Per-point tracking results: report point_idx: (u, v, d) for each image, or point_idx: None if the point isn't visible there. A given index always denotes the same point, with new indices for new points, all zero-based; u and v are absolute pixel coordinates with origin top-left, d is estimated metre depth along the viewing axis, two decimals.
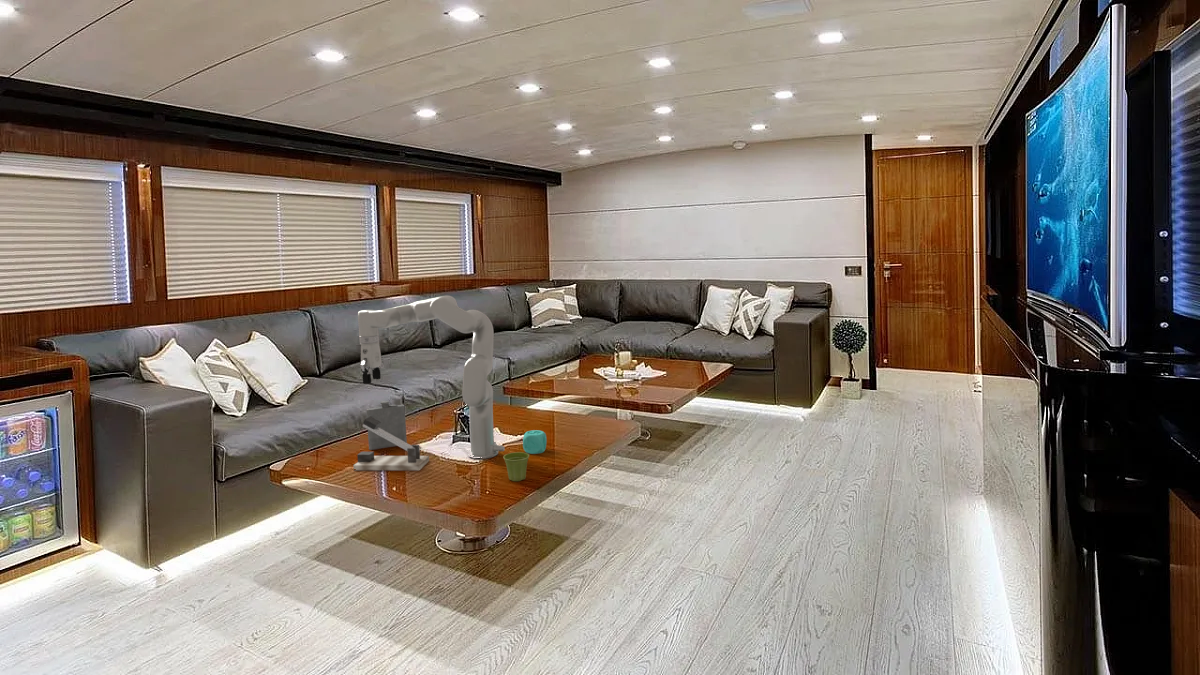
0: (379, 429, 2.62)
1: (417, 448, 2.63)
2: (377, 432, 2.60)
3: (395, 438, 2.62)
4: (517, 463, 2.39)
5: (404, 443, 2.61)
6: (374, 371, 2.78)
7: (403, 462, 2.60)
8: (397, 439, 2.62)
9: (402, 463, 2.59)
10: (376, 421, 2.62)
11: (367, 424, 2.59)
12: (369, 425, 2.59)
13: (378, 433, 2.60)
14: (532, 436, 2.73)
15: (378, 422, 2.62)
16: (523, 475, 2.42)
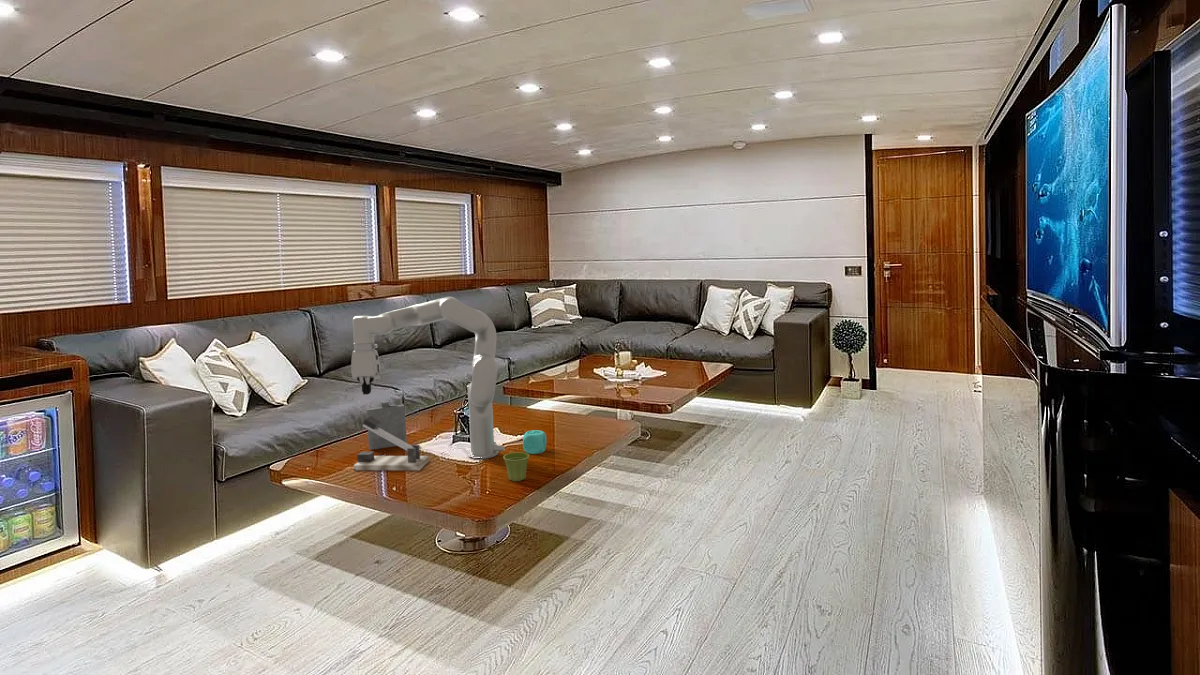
0: (379, 429, 2.62)
1: (417, 448, 2.63)
2: (377, 432, 2.60)
3: (395, 438, 2.62)
4: (517, 463, 2.39)
5: (404, 443, 2.61)
6: None
7: (403, 462, 2.60)
8: (397, 439, 2.62)
9: (402, 463, 2.59)
10: (376, 421, 2.62)
11: (367, 424, 2.59)
12: (369, 425, 2.59)
13: (378, 433, 2.60)
14: (532, 436, 2.73)
15: (378, 422, 2.62)
16: (523, 475, 2.42)
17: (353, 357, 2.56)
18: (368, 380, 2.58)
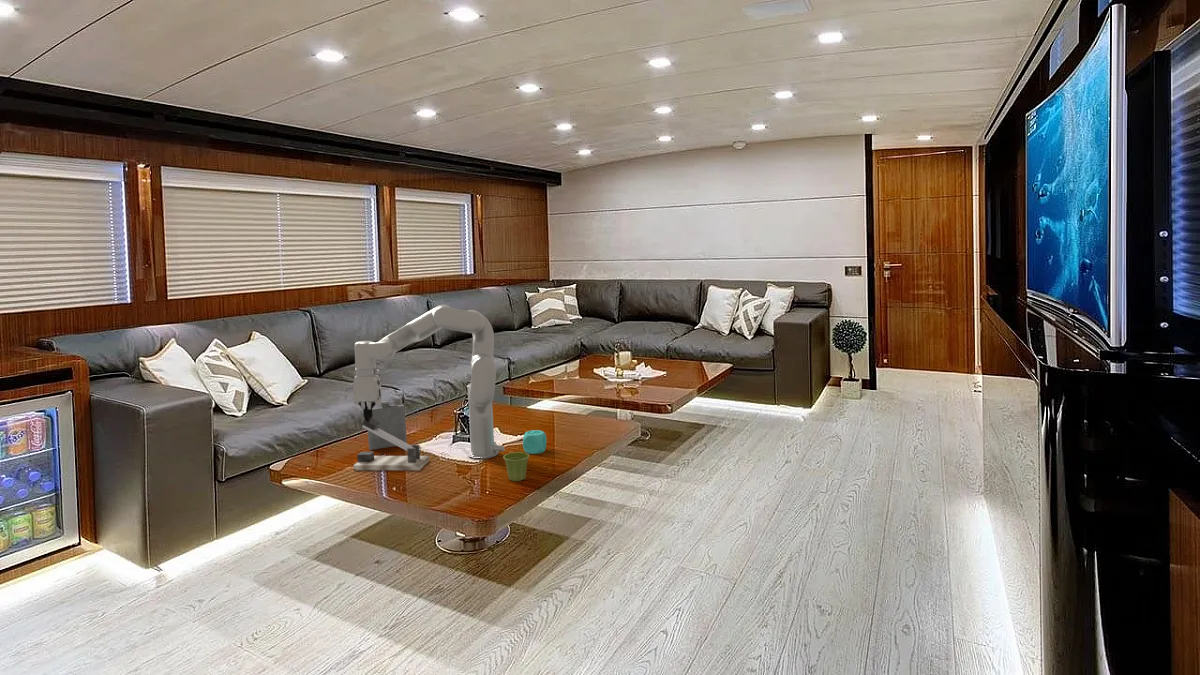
0: (379, 430, 2.62)
1: (417, 448, 2.63)
2: (377, 433, 2.60)
3: (395, 438, 2.62)
4: (517, 463, 2.39)
5: (404, 443, 2.61)
6: None
7: (403, 462, 2.60)
8: (397, 439, 2.62)
9: (402, 463, 2.59)
10: (375, 422, 2.62)
11: (367, 425, 2.59)
12: (369, 426, 2.59)
13: (378, 434, 2.60)
14: (532, 436, 2.73)
15: (378, 423, 2.62)
16: (523, 475, 2.42)
17: (355, 382, 2.57)
18: (370, 405, 2.59)
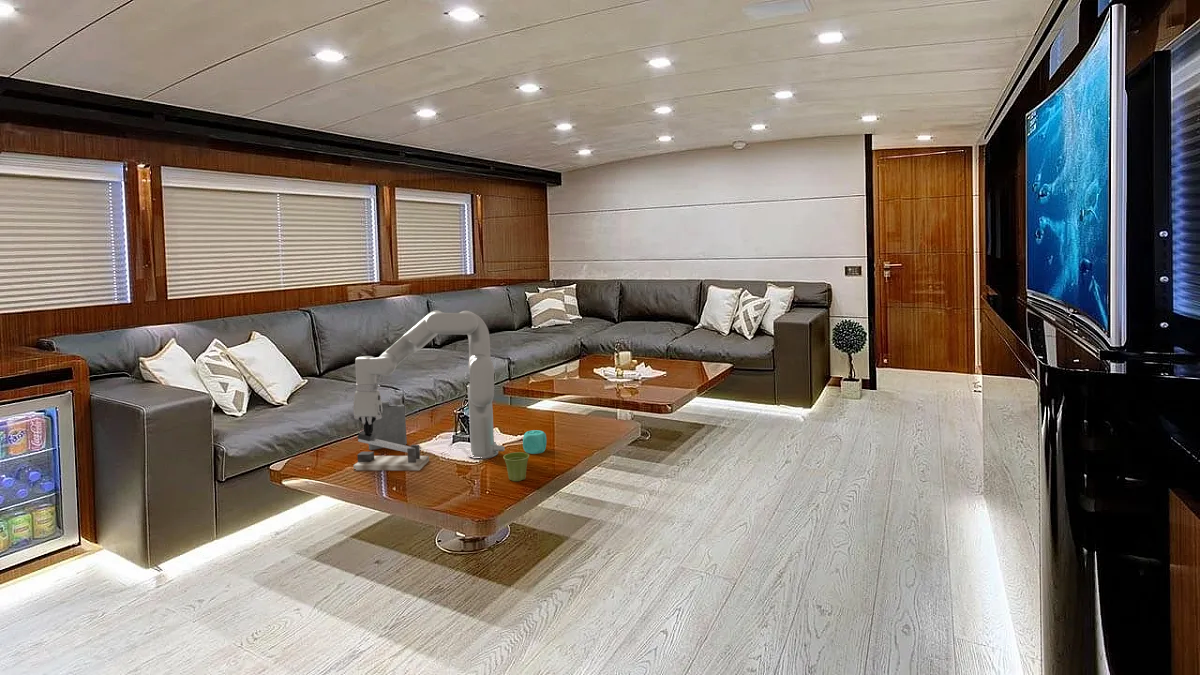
0: (375, 440, 2.62)
1: (417, 448, 2.63)
2: (373, 443, 2.61)
3: (393, 444, 2.62)
4: (517, 463, 2.39)
5: (402, 446, 2.61)
6: None
7: (403, 462, 2.60)
8: (395, 444, 2.62)
9: (402, 463, 2.59)
10: None
11: (362, 438, 2.60)
12: (364, 438, 2.60)
13: (375, 443, 2.61)
14: (532, 436, 2.73)
15: (372, 433, 2.63)
16: (523, 475, 2.42)
17: (355, 397, 2.58)
18: (370, 420, 2.60)
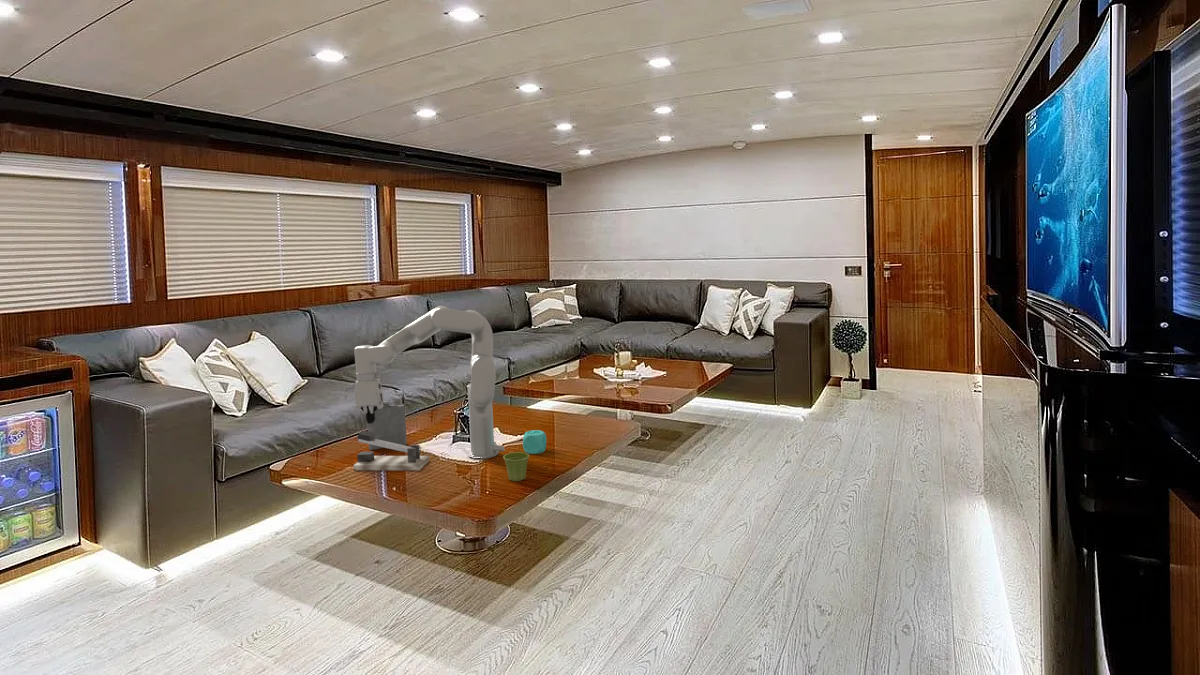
0: (375, 440, 2.62)
1: (417, 448, 2.63)
2: (373, 443, 2.61)
3: (393, 444, 2.62)
4: (517, 463, 2.39)
5: (402, 446, 2.61)
6: None
7: (403, 462, 2.60)
8: (395, 444, 2.62)
9: (402, 463, 2.59)
10: (370, 433, 2.63)
11: (362, 438, 2.60)
12: (364, 438, 2.60)
13: (375, 443, 2.61)
14: (532, 436, 2.73)
15: (372, 433, 2.63)
16: (523, 475, 2.42)
17: (356, 387, 2.58)
18: (372, 409, 2.59)
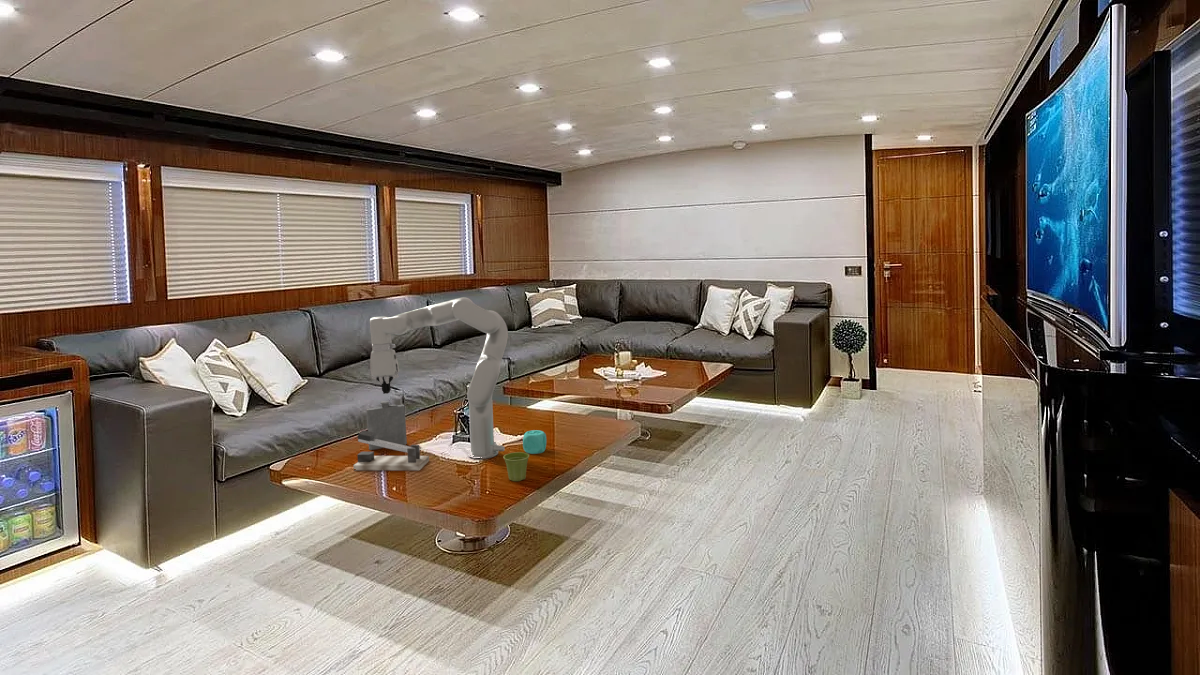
0: (375, 440, 2.62)
1: (417, 448, 2.63)
2: (373, 443, 2.61)
3: (393, 444, 2.62)
4: (517, 463, 2.39)
5: (402, 446, 2.61)
6: None
7: (403, 462, 2.60)
8: (395, 444, 2.62)
9: (402, 463, 2.59)
10: (370, 433, 2.63)
11: (362, 438, 2.60)
12: (364, 438, 2.60)
13: (375, 443, 2.61)
14: (532, 436, 2.73)
15: (372, 433, 2.63)
16: (523, 475, 2.42)
17: (372, 358, 2.62)
18: (387, 379, 2.64)
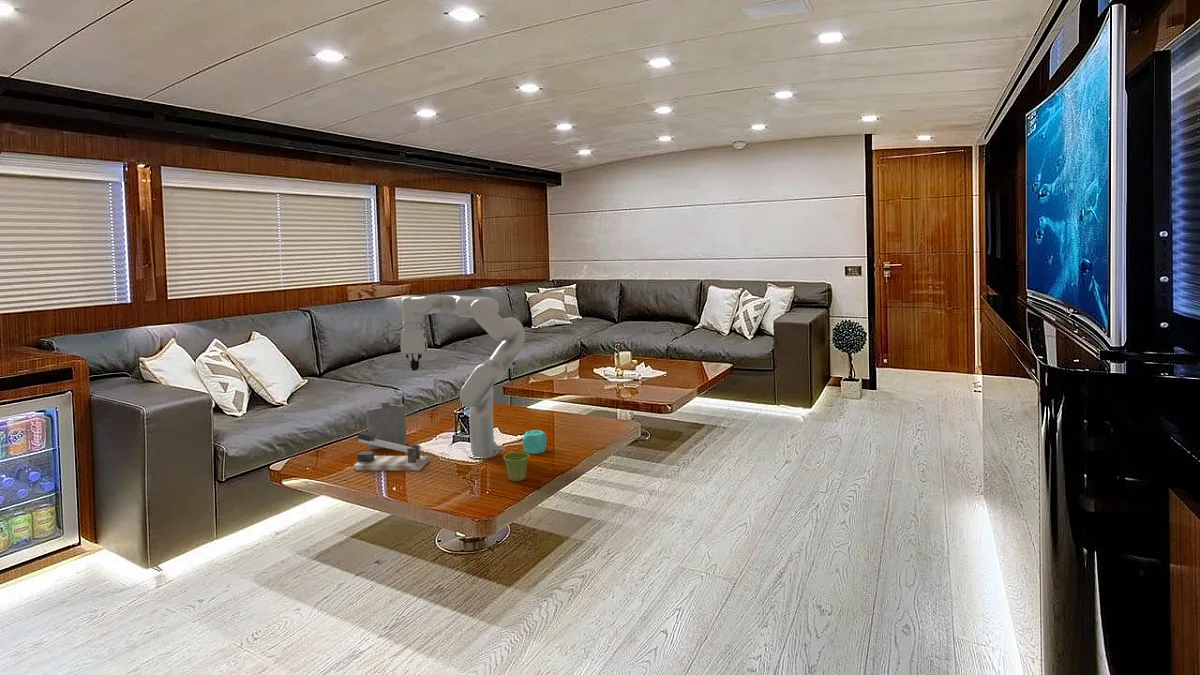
0: (375, 440, 2.62)
1: (417, 448, 2.63)
2: (373, 443, 2.61)
3: (393, 444, 2.62)
4: (517, 463, 2.39)
5: (402, 446, 2.61)
6: None
7: (403, 462, 2.60)
8: (395, 444, 2.62)
9: (402, 463, 2.59)
10: (370, 433, 2.63)
11: (362, 438, 2.60)
12: (364, 438, 2.60)
13: (375, 443, 2.61)
14: (532, 436, 2.73)
15: (372, 433, 2.63)
16: (523, 475, 2.42)
17: (402, 335, 2.72)
18: (416, 357, 2.74)
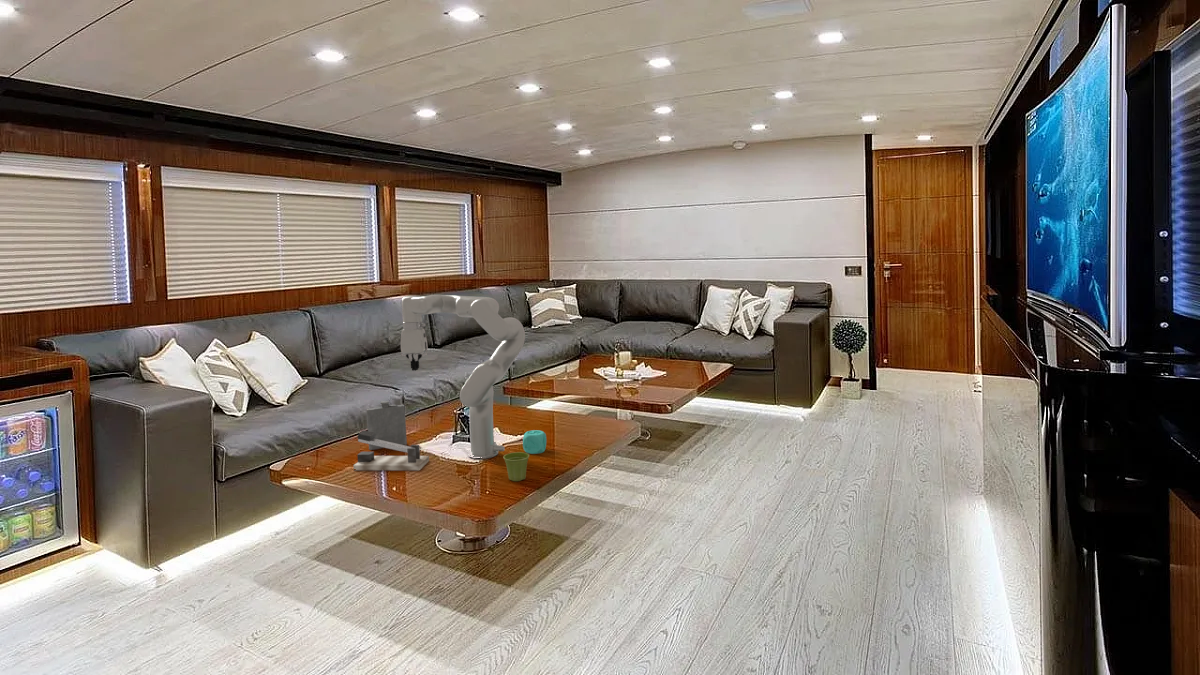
0: (375, 440, 2.62)
1: (417, 448, 2.63)
2: (373, 443, 2.61)
3: (393, 444, 2.62)
4: (517, 463, 2.39)
5: (402, 446, 2.61)
6: None
7: (403, 462, 2.60)
8: (395, 444, 2.62)
9: (402, 463, 2.59)
10: (370, 433, 2.63)
11: (362, 438, 2.60)
12: (364, 438, 2.60)
13: (375, 443, 2.61)
14: (532, 436, 2.73)
15: (372, 433, 2.63)
16: (523, 475, 2.42)
17: (402, 335, 2.72)
18: (417, 357, 2.74)
